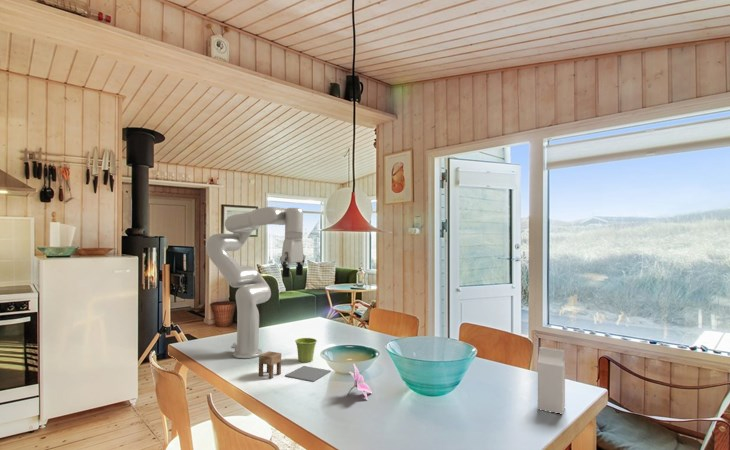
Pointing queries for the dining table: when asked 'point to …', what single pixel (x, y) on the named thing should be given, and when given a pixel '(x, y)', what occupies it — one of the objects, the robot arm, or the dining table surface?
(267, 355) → the stool
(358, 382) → the lily
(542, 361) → the milk carton
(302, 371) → the mat
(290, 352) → the dining table surface
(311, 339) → the plant pot
